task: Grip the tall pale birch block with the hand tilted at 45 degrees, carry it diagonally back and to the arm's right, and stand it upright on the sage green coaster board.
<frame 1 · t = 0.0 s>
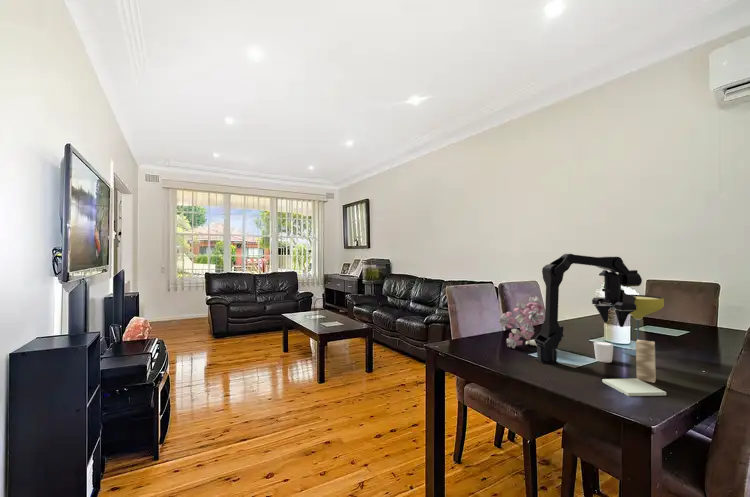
hand: (613, 324, 146), 15 cm above the table, tool pointing down, fingers open, 9 cm apart
shot glass: (603, 360, 145), on the table
coaster board: (632, 388, 115), on the table
flower: (521, 347, 168), on the table
cocktail glass: (638, 354, 154), on the table
birch block: (646, 379, 123), on the table
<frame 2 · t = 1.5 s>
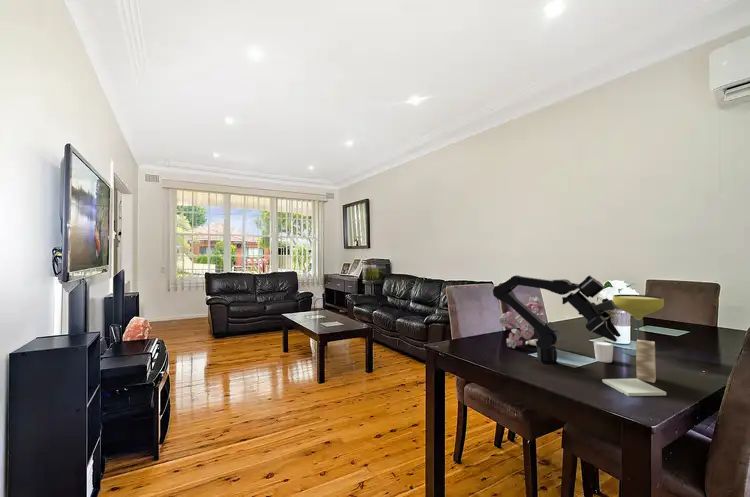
hand: (618, 338, 129), 13 cm above the table, tool tilted 45°, fingers open, 9 cm apart
nothing on the table moved.
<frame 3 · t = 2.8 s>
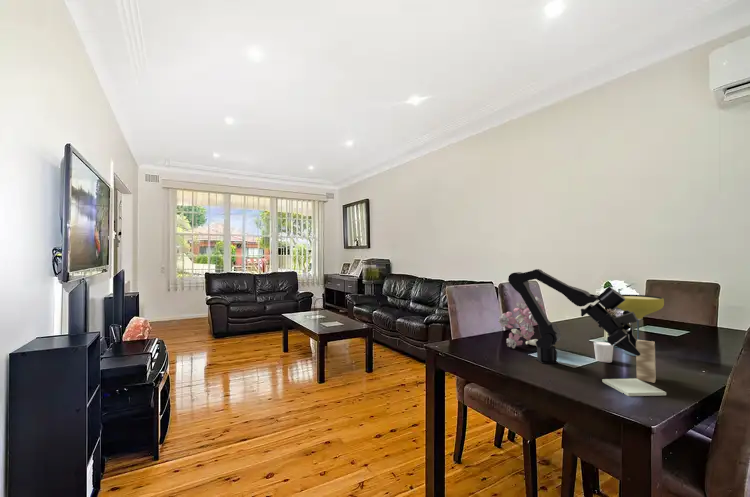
hand: (640, 352, 125), 9 cm above the table, tool tilted 45°, fingers open, 9 cm apart
nothing on the table moved.
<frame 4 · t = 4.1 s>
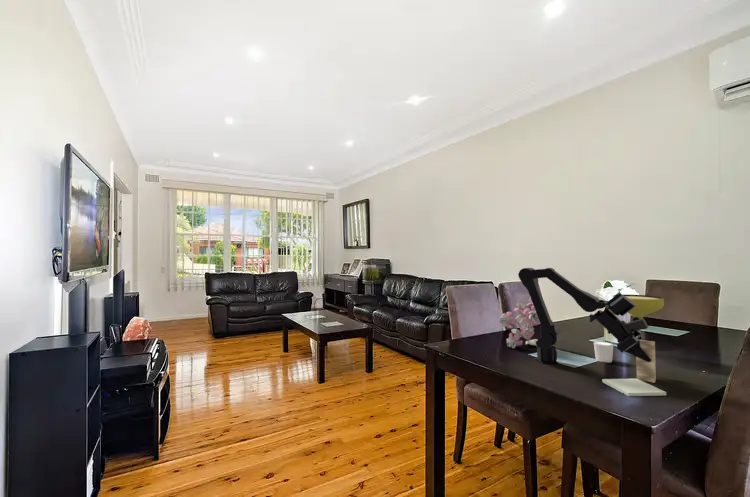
hand: (650, 359, 123), 7 cm above the table, tool tilted 45°, fingers closed on birch block, 5 cm apart
birch block: (646, 379, 123), on the table, touching gripper
everything else where it was.
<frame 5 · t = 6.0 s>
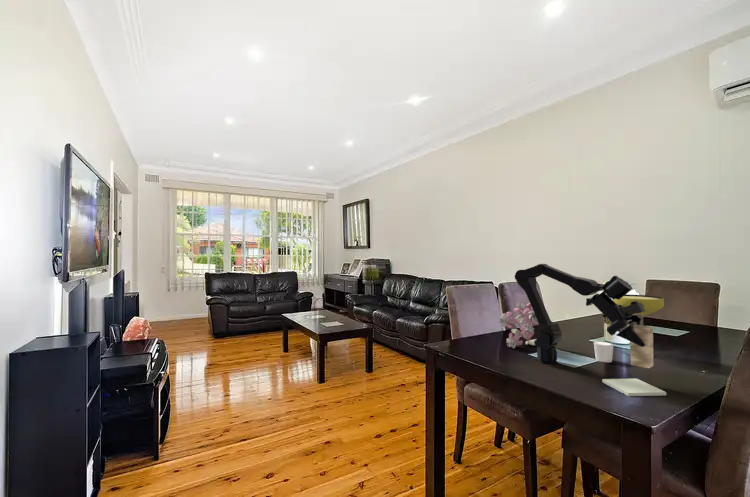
hand: (646, 344, 118), 13 cm above the table, tool tilted 45°, fingers closed on birch block, 5 cm apart
birch block: (642, 365, 119), point 6 cm above the table, touching gripper
everything else where it was.
when the fingers open (9 cm above the table, at t = 8.2 s): birch block drops 1 cm, resting on coaster board.
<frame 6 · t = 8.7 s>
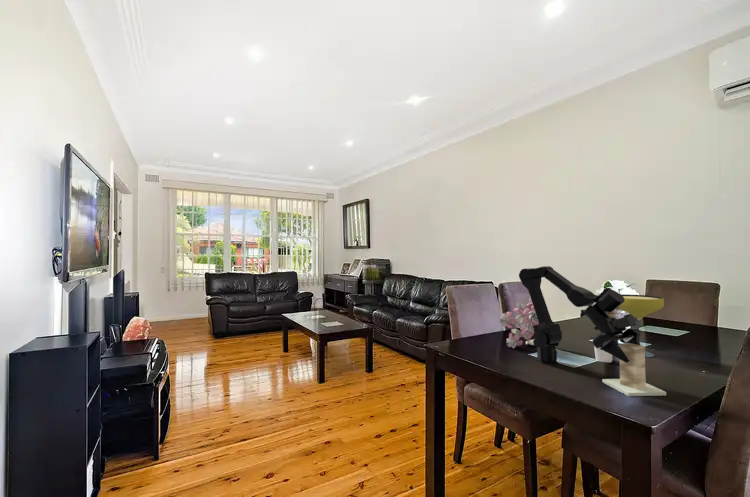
hand: (636, 360, 114), 10 cm above the table, tool tilted 45°, fingers open, 9 cm apart
birch block: (632, 385, 115), point 1 cm above the table, touching coaster board
everything else where it was.
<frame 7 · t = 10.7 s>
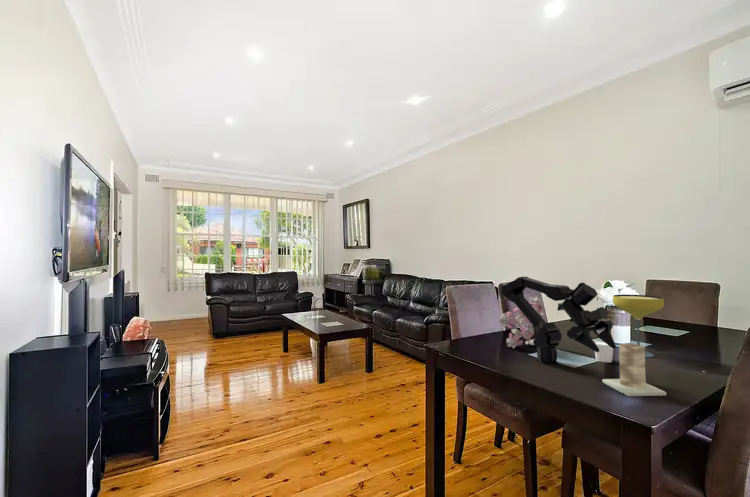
hand: (606, 349, 123), 11 cm above the table, tool tilted 45°, fingers open, 9 cm apart
nothing on the table moved.
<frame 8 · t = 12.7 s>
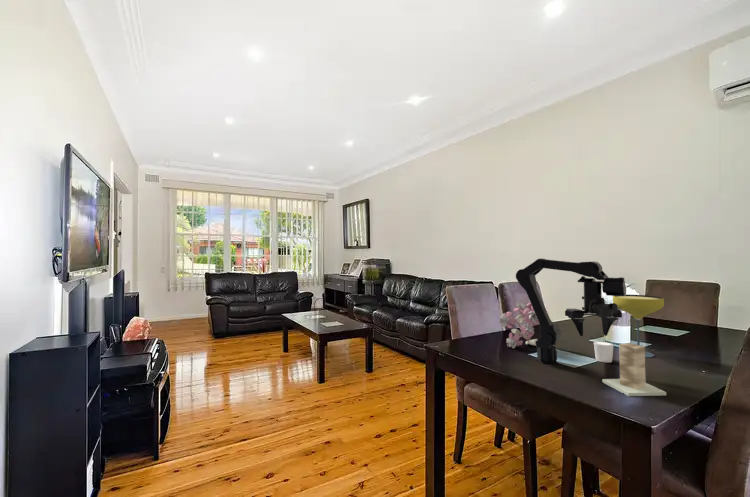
hand: (593, 335, 133), 13 cm above the table, tool pointing down, fingers open, 9 cm apart
nothing on the table moved.
at the end: birch block inside the target area on the coaster board (0.0 cm from its centre), point 1.0 cm above the coaster board's base; birch block tilted 0°; the gripper is holding nothing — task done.
